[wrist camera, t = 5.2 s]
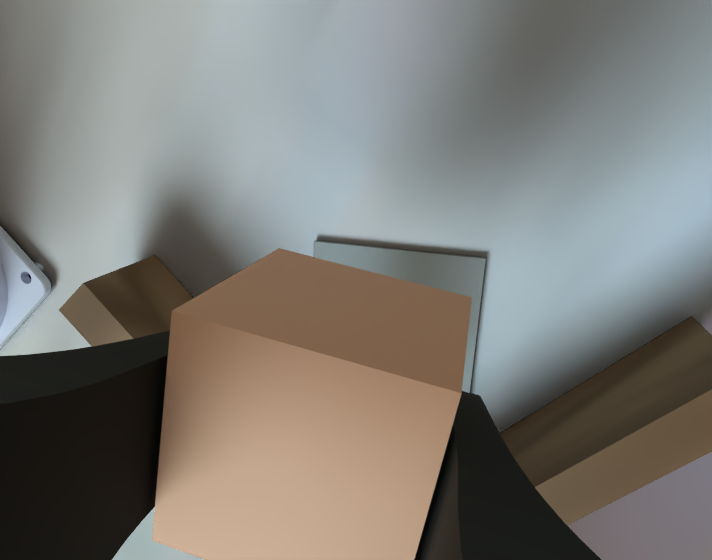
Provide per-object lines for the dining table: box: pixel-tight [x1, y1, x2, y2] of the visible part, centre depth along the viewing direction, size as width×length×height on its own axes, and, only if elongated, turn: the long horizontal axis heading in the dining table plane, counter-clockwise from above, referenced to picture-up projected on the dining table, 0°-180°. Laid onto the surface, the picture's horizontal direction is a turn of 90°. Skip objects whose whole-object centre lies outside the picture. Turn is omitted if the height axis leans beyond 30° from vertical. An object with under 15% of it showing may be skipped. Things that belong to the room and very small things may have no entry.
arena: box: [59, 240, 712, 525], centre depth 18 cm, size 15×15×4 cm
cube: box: [152, 249, 472, 560], centre depth 11 cm, size 4×4×4 cm
